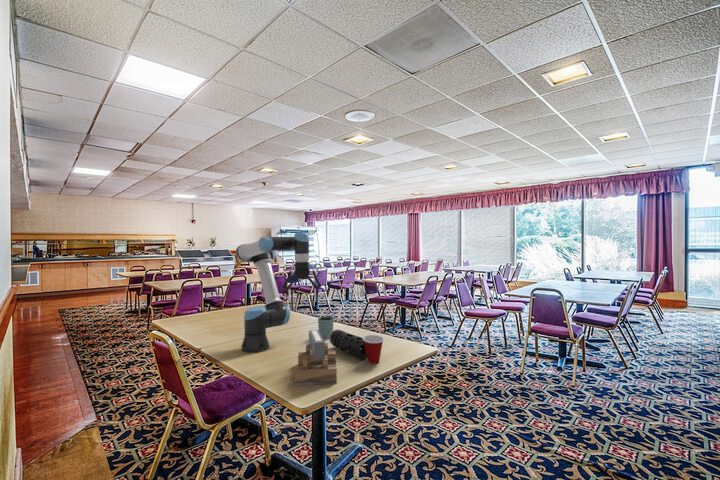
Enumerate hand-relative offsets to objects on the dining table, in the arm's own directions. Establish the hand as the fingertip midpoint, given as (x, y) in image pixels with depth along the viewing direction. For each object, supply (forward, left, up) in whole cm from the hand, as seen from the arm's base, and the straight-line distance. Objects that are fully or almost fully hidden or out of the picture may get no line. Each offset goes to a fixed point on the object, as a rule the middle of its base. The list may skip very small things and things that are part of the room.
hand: (302, 301), depth 186 cm
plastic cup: (+36, -15, -29) cm, 49 cm away
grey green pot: (+12, +33, -29) cm, 45 cm away
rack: (+8, -26, -29) cm, 40 cm away
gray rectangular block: (+8, -26, -19) cm, 33 cm away
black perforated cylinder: (+25, +1, -29) cm, 38 cm away
